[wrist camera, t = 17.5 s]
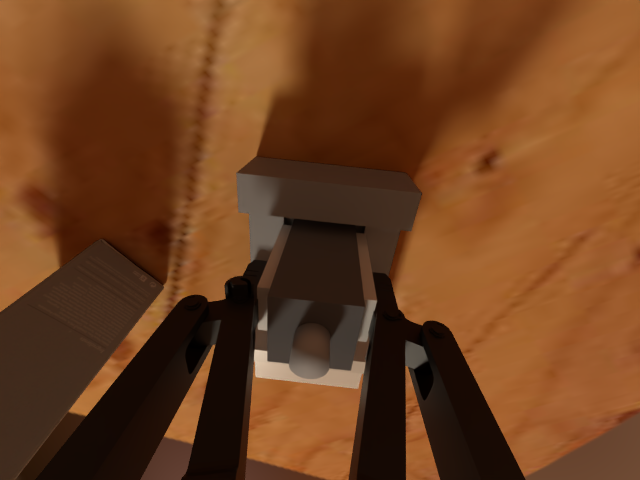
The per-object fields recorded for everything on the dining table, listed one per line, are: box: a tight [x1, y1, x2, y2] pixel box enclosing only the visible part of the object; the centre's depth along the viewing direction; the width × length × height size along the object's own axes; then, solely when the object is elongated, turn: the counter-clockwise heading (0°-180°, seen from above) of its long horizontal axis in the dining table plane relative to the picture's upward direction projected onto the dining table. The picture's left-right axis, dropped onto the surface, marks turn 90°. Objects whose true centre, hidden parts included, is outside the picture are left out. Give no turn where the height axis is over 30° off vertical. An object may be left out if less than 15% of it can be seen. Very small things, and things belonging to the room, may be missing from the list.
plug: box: [267, 218, 365, 379], centre depth 15 cm, size 4×4×10 cm
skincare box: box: [0, 239, 164, 480], centre depth 18 cm, size 8×7×16 cm
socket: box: [236, 157, 422, 276], centre depth 20 cm, size 14×10×4 cm
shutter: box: [254, 324, 369, 389], centre depth 19 cm, size 7×8×4 cm
